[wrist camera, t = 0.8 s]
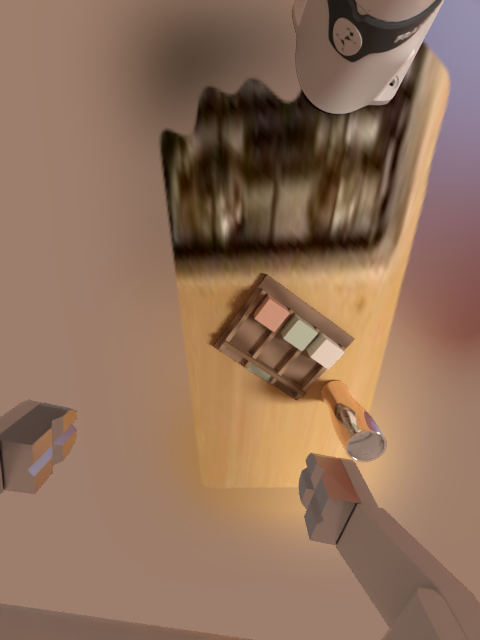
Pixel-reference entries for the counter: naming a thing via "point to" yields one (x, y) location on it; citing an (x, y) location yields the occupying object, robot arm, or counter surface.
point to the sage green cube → (298, 332)
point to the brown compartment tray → (277, 341)
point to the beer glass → (353, 423)
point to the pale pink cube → (324, 350)
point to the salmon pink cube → (271, 313)
